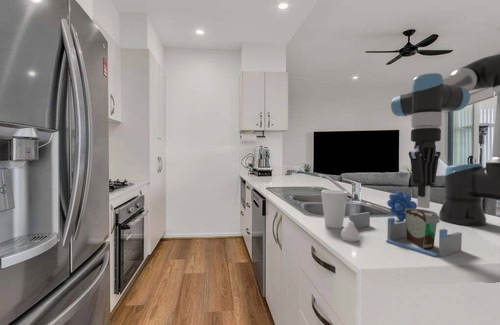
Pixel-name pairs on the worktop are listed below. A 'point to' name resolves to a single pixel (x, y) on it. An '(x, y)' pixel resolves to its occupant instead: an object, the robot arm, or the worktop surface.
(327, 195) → the foam cup
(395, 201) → the grapes
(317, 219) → the worktop surface
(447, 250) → the blue-edged channel bracket
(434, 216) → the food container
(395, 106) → the robot arm
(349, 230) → the garlic bulb
